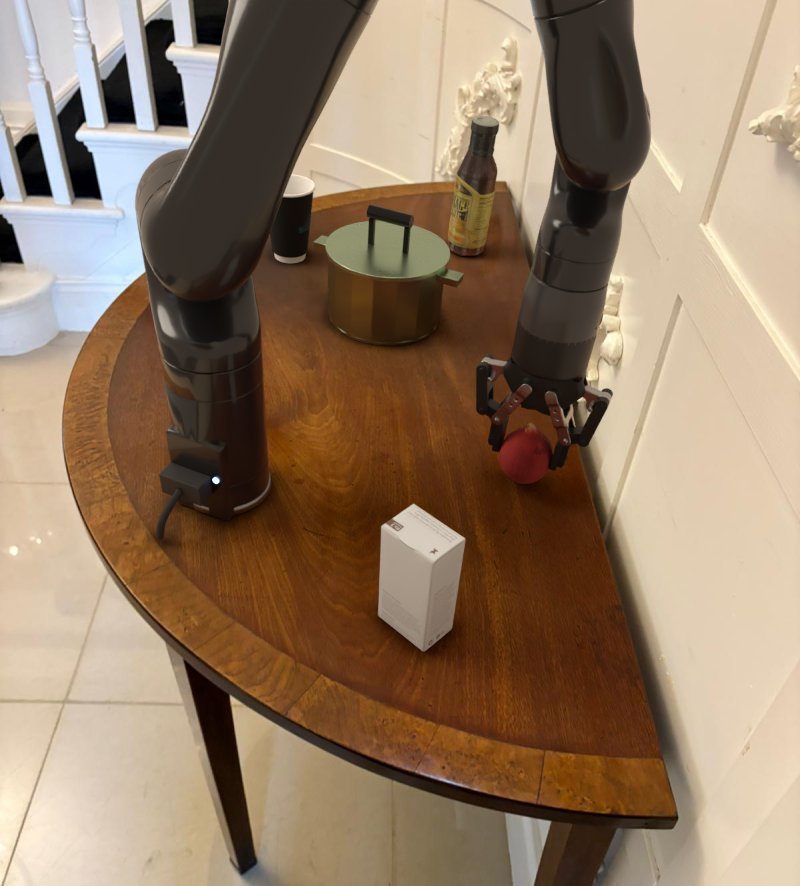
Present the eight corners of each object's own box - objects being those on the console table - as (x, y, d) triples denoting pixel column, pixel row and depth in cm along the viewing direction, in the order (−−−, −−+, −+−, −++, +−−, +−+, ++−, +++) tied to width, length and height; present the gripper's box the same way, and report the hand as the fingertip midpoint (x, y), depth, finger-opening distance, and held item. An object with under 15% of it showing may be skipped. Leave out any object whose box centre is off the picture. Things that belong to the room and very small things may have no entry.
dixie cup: (261, 245, 124) (257, 173, 116) (311, 243, 125) (310, 172, 118) (267, 269, 118) (264, 195, 111) (319, 267, 120) (319, 194, 112)
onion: (544, 468, 90) (559, 411, 84) (546, 501, 86) (562, 444, 80) (494, 462, 90) (505, 404, 85) (493, 495, 86) (505, 437, 80)
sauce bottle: (441, 242, 129) (456, 111, 115) (476, 239, 131) (495, 110, 117) (454, 260, 125) (472, 127, 111) (490, 258, 127) (512, 126, 113)
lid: (421, 299, 98) (426, 251, 93) (302, 265, 101) (302, 218, 97) (466, 247, 109) (472, 202, 104) (358, 219, 112) (359, 174, 108)
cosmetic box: (453, 628, 73) (472, 537, 64) (421, 656, 70) (436, 564, 62) (405, 591, 75) (416, 499, 67) (372, 617, 73) (379, 524, 64)
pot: (431, 363, 104) (439, 297, 97) (291, 321, 108) (289, 255, 102) (471, 311, 114) (481, 248, 107) (341, 274, 119) (343, 212, 112)
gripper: (474, 316, 73) (452, 456, 85) (626, 359, 70) (581, 498, 81) (499, 282, 78) (475, 419, 90) (642, 321, 75) (597, 457, 86)
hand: (525, 456), depth 86 cm, fingers closed on onion, 6 cm apart
